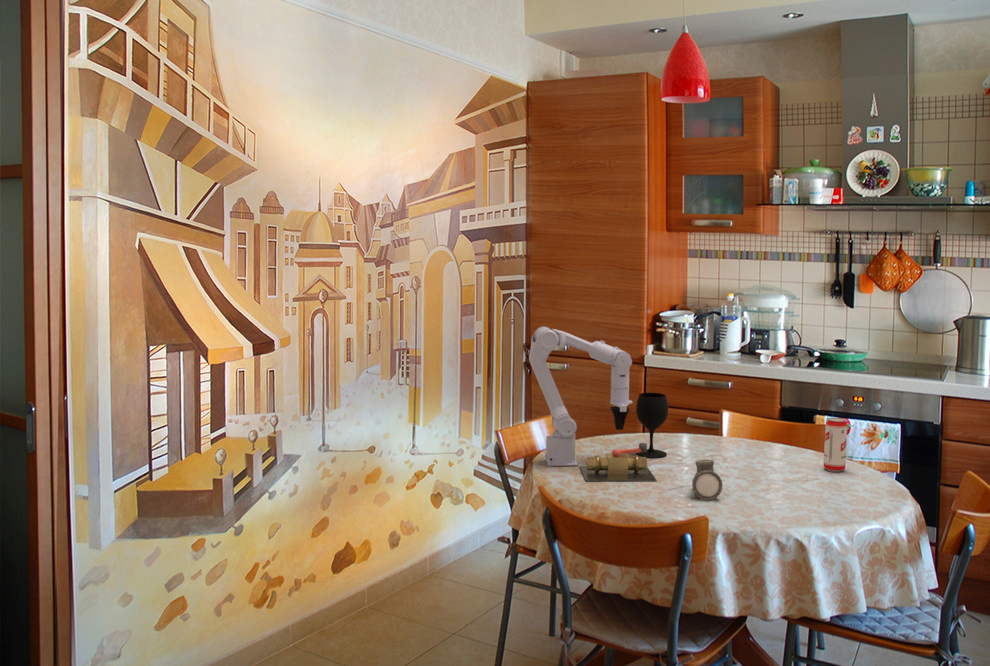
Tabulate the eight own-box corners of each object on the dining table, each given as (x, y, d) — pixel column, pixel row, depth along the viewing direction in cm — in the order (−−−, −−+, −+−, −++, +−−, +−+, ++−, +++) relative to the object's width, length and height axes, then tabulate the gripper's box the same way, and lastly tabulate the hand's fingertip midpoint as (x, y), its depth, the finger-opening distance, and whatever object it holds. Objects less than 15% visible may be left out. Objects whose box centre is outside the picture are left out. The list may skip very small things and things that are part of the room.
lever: (614, 455, 258) (614, 447, 258) (610, 453, 261) (610, 445, 261) (648, 452, 262) (648, 444, 262) (644, 450, 265) (644, 442, 265)
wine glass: (647, 459, 276) (649, 399, 274) (628, 452, 285) (630, 393, 283) (673, 456, 281) (675, 396, 278) (654, 448, 290) (655, 391, 288)
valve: (585, 482, 252) (586, 463, 251) (579, 467, 268) (579, 449, 267) (656, 481, 252) (656, 463, 252) (646, 466, 268) (646, 449, 267)
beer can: (845, 468, 266) (848, 418, 264) (844, 473, 260) (847, 422, 258) (824, 466, 268) (826, 416, 266) (822, 471, 263) (824, 420, 261)
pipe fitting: (723, 500, 233) (721, 462, 233) (693, 500, 235) (691, 463, 235) (720, 492, 245) (718, 456, 245) (691, 492, 247) (689, 457, 247)
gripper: (636, 391, 265) (635, 434, 267) (628, 383, 279) (627, 424, 281) (614, 391, 265) (613, 434, 266) (607, 383, 279) (606, 424, 281)
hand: (619, 429), depth 274 cm, fingers closed
